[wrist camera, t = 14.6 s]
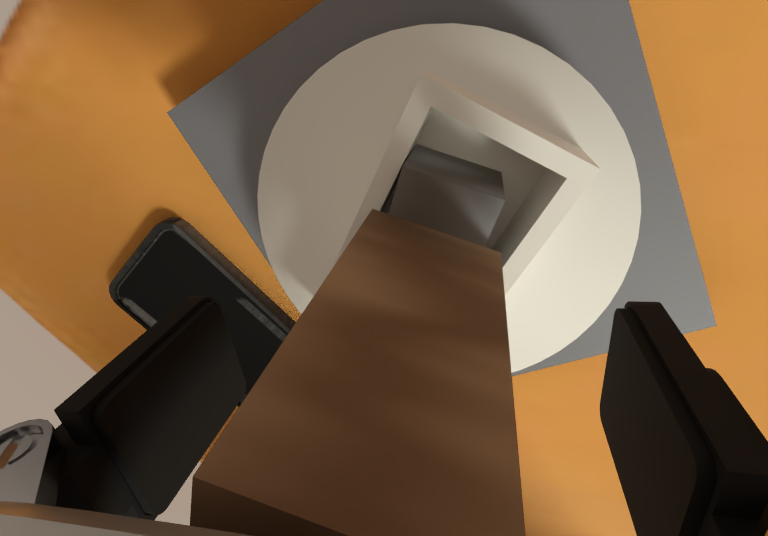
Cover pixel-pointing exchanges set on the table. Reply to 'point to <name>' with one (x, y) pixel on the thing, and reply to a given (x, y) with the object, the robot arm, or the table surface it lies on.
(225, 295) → the phone
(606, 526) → the table surface
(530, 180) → the dial
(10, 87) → the table surface
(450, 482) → the tan block
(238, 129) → the dial plate
